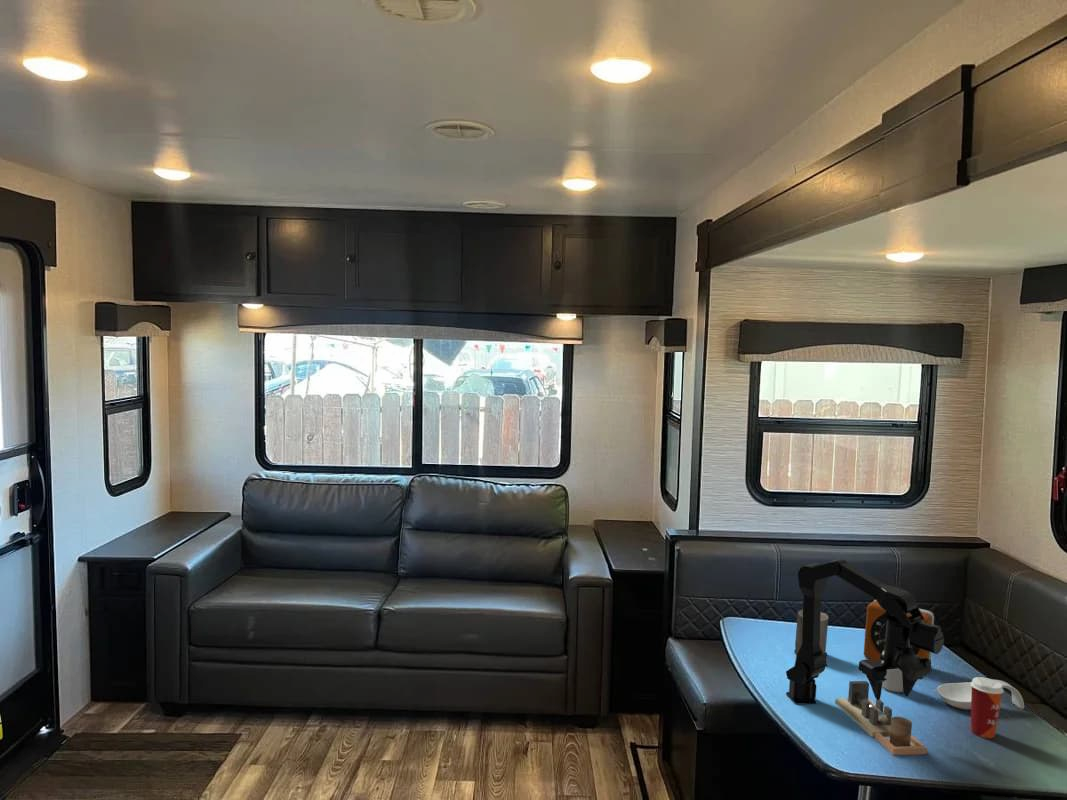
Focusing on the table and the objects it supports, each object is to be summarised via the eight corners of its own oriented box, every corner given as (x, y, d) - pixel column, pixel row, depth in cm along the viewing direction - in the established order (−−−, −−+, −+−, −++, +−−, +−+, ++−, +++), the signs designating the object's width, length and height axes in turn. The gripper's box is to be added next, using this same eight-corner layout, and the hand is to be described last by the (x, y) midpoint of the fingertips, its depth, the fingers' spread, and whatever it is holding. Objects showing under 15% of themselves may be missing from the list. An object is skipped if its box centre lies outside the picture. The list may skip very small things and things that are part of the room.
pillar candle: (788, 651, 259) (791, 607, 258) (810, 647, 264) (813, 604, 262) (809, 662, 251) (813, 617, 249) (832, 658, 255) (835, 614, 253)
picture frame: (892, 754, 195) (893, 748, 195) (875, 738, 203) (875, 732, 203) (926, 754, 196) (926, 747, 196) (907, 737, 204) (908, 731, 204)
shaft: (874, 724, 207) (876, 703, 207) (848, 701, 221) (849, 681, 220) (892, 724, 208) (893, 703, 207) (864, 700, 221) (866, 681, 221)
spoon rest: (951, 714, 219) (953, 690, 218) (928, 695, 230) (929, 672, 230) (1032, 715, 220) (1034, 691, 219) (1005, 696, 232) (1007, 673, 231)
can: (910, 695, 229) (913, 655, 229) (883, 692, 231) (886, 652, 230) (903, 684, 237) (906, 646, 236) (877, 681, 238) (880, 643, 237)
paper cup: (999, 743, 203) (1003, 691, 202) (965, 734, 207) (970, 683, 206) (999, 731, 210) (1004, 681, 208) (967, 723, 214) (971, 673, 212)
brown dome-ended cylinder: (896, 748, 197) (898, 726, 197) (885, 738, 202) (887, 716, 202) (914, 748, 198) (916, 725, 197) (902, 738, 203) (904, 716, 202)
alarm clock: (862, 658, 256) (866, 597, 254) (871, 650, 262) (875, 591, 261) (923, 675, 244) (928, 611, 242) (930, 667, 250) (935, 605, 249)
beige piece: (871, 736, 204) (872, 716, 203) (835, 702, 223) (836, 684, 222) (907, 735, 205) (908, 716, 205) (868, 702, 224) (869, 683, 223)
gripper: (891, 655, 192) (885, 716, 193) (951, 649, 197) (944, 708, 199) (859, 638, 202) (854, 695, 204) (917, 632, 208) (911, 689, 209)
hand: (891, 697), depth 203 cm, fingers open, 9 cm apart
